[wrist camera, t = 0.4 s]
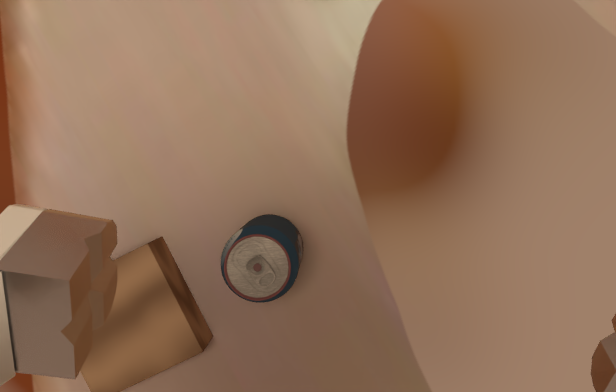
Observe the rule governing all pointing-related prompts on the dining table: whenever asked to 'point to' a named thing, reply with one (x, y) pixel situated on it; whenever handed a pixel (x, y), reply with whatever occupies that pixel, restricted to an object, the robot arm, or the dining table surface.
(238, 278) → the soda can
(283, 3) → the dining table surface
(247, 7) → the dining table surface
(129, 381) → the block
